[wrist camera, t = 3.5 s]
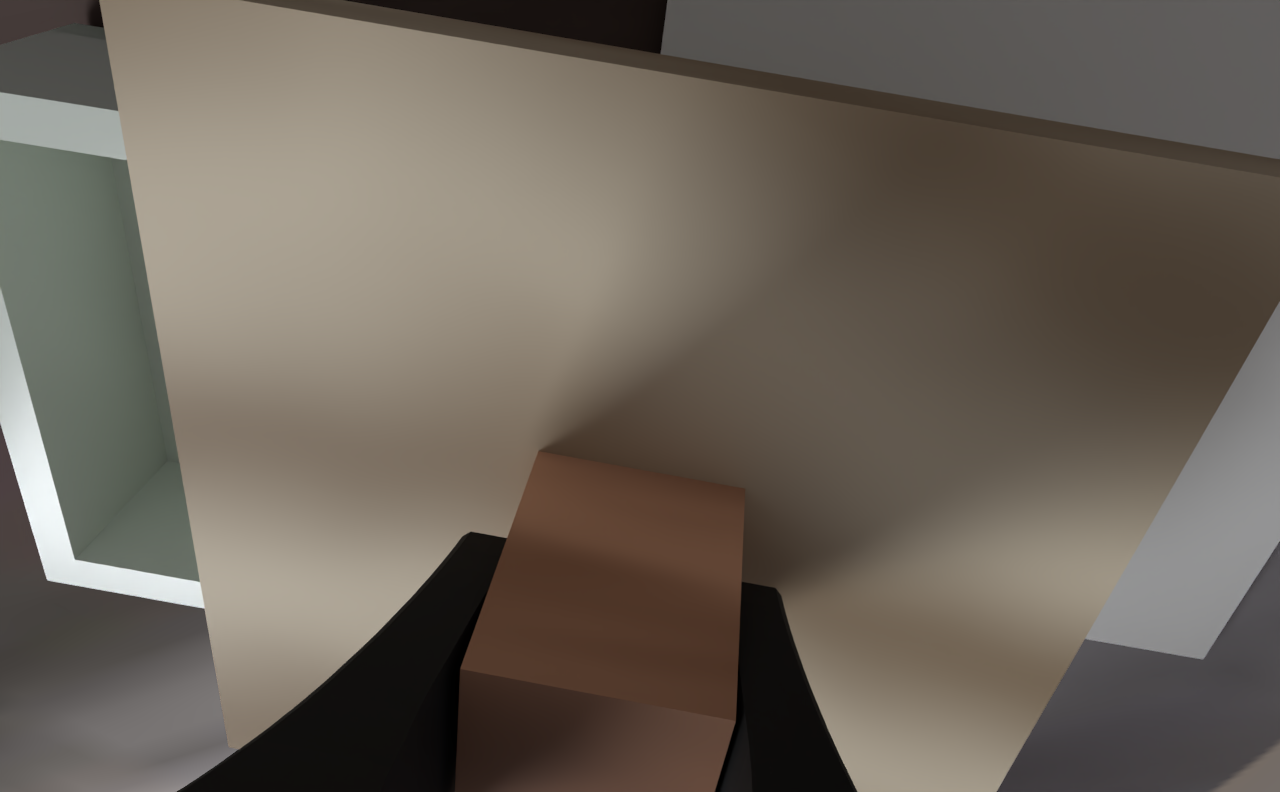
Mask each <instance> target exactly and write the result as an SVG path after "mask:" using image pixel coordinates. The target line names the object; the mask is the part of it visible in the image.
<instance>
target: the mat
mask: <svg viewBox="0 0 1280 792" xmlns="http://www.w3.org/2000/svg"><path fill="white" fill-rule="evenodd" d="M661 54H663V55H669V56H674V57H680V58H686V59H692V60H698V61H704V62H710V63H716V64H722V65H727V66H733V67H739V68H745V69H751V70H757V71H763V72H769V73H774V74H780V75H786V76H792V77H798V78H804V79H810V80H816V81H822V82H827V83H833V84H839V85H845V86H851V87H857V88H863V89H869V90H874V91H880V92H886V93H892V94H898V95H904V96H910V97H916V98H922V99H927V100H933V101H939V102H945V103H951V104H957V105H963V106H969V107H974V108H980V109H986V110H992V111H998V112H1004V113H1010V114H1016V115H1021V116H1027V117H1033V118H1039V119H1045V120H1051V121H1057V122H1063V123H1069V124H1074V125H1080V126H1086V127H1092V128H1098V129H1104V130H1110V131H1116V132H1121V133H1127V134H1133V135H1139V136H1145V137H1151V138H1157V139H1163V140H1169V141H1174V142H1180V143H1186V144H1192V145H1198V146H1204V147H1210V148H1216V149H1221V150H1227V151H1233V152H1239V153H1245V154H1251V155H1257V156H1263V157H1269V158H1274V159H1280V0H668V1H667V8H666V16H665V24H664V32H663V39H662V47H661ZM1279 541H1280V302H1279V303H1278V305H1277V307H1276V309H1275V310H1274V312H1273V314H1272V316H1271V317H1270V319H1269V321H1268V322H1267V324H1266V326H1265V328H1264V329H1263V331H1262V333H1261V335H1260V336H1259V338H1258V340H1257V342H1256V343H1255V345H1254V347H1253V348H1252V350H1251V352H1250V354H1249V355H1248V357H1247V359H1246V361H1245V362H1244V364H1243V366H1242V368H1241V369H1240V371H1239V373H1238V374H1237V376H1236V378H1235V380H1234V381H1233V383H1232V385H1231V387H1230V388H1229V390H1228V392H1227V393H1226V395H1225V397H1224V399H1223V400H1222V402H1221V404H1220V406H1219V407H1218V409H1217V411H1216V413H1215V414H1214V416H1213V418H1212V419H1211V421H1210V423H1209V425H1208V426H1207V428H1206V430H1205V432H1204V433H1203V435H1202V437H1201V438H1200V440H1199V442H1198V444H1197V445H1196V447H1195V449H1194V451H1193V452H1192V454H1191V456H1190V458H1189V459H1188V461H1187V463H1186V464H1185V466H1184V468H1183V470H1182V471H1181V473H1180V475H1179V477H1178V478H1177V480H1176V482H1175V484H1174V485H1173V487H1172V489H1171V490H1170V492H1169V494H1168V496H1167V497H1166V499H1165V501H1164V503H1163V504H1162V506H1161V508H1160V509H1159V511H1158V513H1157V515H1156V516H1155V518H1154V520H1153V522H1152V523H1151V525H1150V527H1149V529H1148V530H1147V532H1146V534H1145V535H1144V537H1143V539H1142V541H1141V542H1140V544H1139V546H1138V548H1137V549H1136V551H1135V553H1134V554H1133V556H1132V558H1131V560H1130V561H1129V563H1128V565H1127V567H1126V568H1125V570H1124V572H1123V574H1122V575H1121V577H1120V579H1119V580H1118V582H1117V584H1116V586H1115V587H1114V589H1113V591H1112V593H1111V594H1110V596H1109V598H1108V600H1107V601H1106V603H1105V605H1104V606H1103V608H1102V610H1101V612H1100V613H1099V615H1098V617H1097V619H1096V620H1095V622H1094V624H1093V625H1092V627H1091V629H1090V631H1089V632H1088V634H1087V636H1086V638H1085V639H1088V640H1094V641H1100V642H1105V643H1111V644H1117V645H1123V646H1128V647H1134V648H1140V649H1145V650H1151V651H1157V652H1163V653H1168V654H1174V655H1180V656H1186V657H1191V658H1197V659H1204V657H1205V656H1206V654H1207V653H1208V651H1209V650H1210V648H1211V646H1212V645H1213V643H1214V642H1215V640H1216V639H1217V637H1218V636H1219V634H1220V633H1221V631H1222V629H1223V628H1224V626H1225V625H1226V623H1227V622H1228V620H1229V619H1230V617H1231V616H1232V614H1233V612H1234V611H1235V609H1236V608H1237V606H1238V605H1239V603H1240V602H1241V600H1242V599H1243V597H1244V595H1245V594H1246V592H1247V591H1248V589H1249V588H1250V586H1251V585H1252V583H1253V582H1254V580H1255V578H1256V577H1257V575H1258V574H1259V572H1260V571H1261V569H1262V568H1263V566H1264V565H1265V563H1266V561H1267V560H1268V558H1269V557H1270V555H1271V554H1272V552H1273V551H1274V549H1275V548H1276V546H1277V544H1278V543H1279Z"/></svg>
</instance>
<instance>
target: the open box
mask: <svg viewBox="0 0 1280 792" xmlns="http://www.w3.org/2000/svg"><path fill="white" fill-rule="evenodd" d="M0 423H1V427H2V430H3V433H4V437H5V440H6V444H7V447H8V450H9V454H10V457H11V460H12V464H13V467H14V470H15V474H16V477H17V480H18V484H19V487H20V490H21V494H22V497H23V501H24V504H25V507H26V511H27V514H28V517H29V521H30V524H31V527H32V531H33V534H34V537H35V541H36V544H37V547H38V551H39V554H40V558H41V561H42V564H43V568H44V571H45V574H46V578H47V580H49V581H54V582H60V583H65V584H71V585H76V586H82V587H88V588H93V589H99V590H104V591H110V592H116V593H121V594H127V595H132V596H138V597H143V598H149V599H155V600H160V601H166V602H171V603H177V604H182V605H188V606H194V607H199V608H205V607H204V602H203V596H202V590H201V584H200V579H199V573H198V567H197V561H196V556H195V550H194V544H193V538H192V532H191V527H190V521H189V515H188V509H187V504H186V498H185V492H184V486H183V481H182V475H181V469H180V463H179V457H178V452H177V446H176V440H175V434H174V429H173V423H172V417H171V411H170V405H169V400H168V394H167V388H166V382H165V377H164V371H163V365H162V359H161V354H160V348H159V342H158V336H157V330H156V325H155V319H154V313H153V307H152V302H151V296H150V290H149V284H148V279H147V273H146V267H145V261H144V255H143V250H142V244H141V238H140V232H139V227H138V221H137V215H136V209H135V203H134V198H133V192H132V186H131V180H130V175H129V169H128V163H127V157H126V152H125V146H124V140H123V134H122V128H121V123H120V117H119V111H118V105H117V100H116V94H115V88H114V82H113V77H112V71H111V65H110V59H109V53H108V48H107V42H106V36H105V30H104V28H102V27H96V26H90V25H83V24H77V23H73V24H70V25H67V26H63V27H60V28H56V29H53V30H50V31H46V32H43V33H39V34H36V35H33V36H29V37H26V38H22V39H19V40H16V41H12V42H9V43H6V44H2V45H0Z"/></svg>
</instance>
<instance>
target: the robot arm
mask: <svg viewBox="0 0 1280 792" xmlns="http://www.w3.org/2000/svg"><path fill="white" fill-rule="evenodd" d="M506 540H507V538H504V537H498V536H493V535H488V534H482V533H477V532H469V533H467V534H465V535H464V536H462V537H461V539H460V540H459V541H458V543H457V544H456V545H455V547H454V548H453V549H452V551H451V552H450V553H449V554H448V555H447V557H446V558H445V559H444V560H443V562H442V563H441V564H440V565H439V566H438V568H437V569H436V570H435V571H434V572H433V573H432V575H431V576H430V577H429V578H428V579H427V580H426V581H425V583H424V584H423V585H422V586H421V587H420V588H419V589H418V590H417V591H416V593H415V594H414V595H413V596H412V597H411V598H410V599H409V600H408V601H407V602H406V603H405V604H404V605H403V606H402V607H401V609H400V610H399V611H398V612H397V613H396V614H395V615H394V616H393V617H392V618H391V619H390V620H389V621H388V622H387V623H386V624H385V625H384V626H383V627H382V628H381V629H380V630H379V631H378V632H377V633H376V634H375V635H374V636H373V637H372V638H371V639H370V640H369V641H368V642H367V643H366V644H365V645H364V646H363V647H362V648H361V649H360V650H359V651H357V652H356V653H355V654H354V655H353V656H352V657H351V658H350V659H349V660H348V661H347V662H346V663H344V664H343V665H342V666H341V667H340V668H339V669H338V670H337V671H336V672H335V673H334V674H333V675H332V676H330V677H329V678H328V679H327V680H326V681H325V682H324V683H323V684H321V685H320V686H319V687H318V688H317V689H316V690H314V691H313V692H312V693H311V694H310V695H309V696H307V697H306V698H305V699H304V700H303V701H301V702H300V703H299V704H298V705H296V706H295V707H294V708H293V709H292V710H290V711H289V712H288V713H286V714H285V715H284V716H283V717H281V718H280V719H279V720H278V721H276V722H275V723H274V724H273V725H271V726H270V727H269V728H267V729H266V730H265V731H263V732H262V733H261V734H259V735H258V736H257V737H255V738H254V739H253V740H251V741H250V742H248V743H247V744H246V745H244V746H243V747H242V748H240V749H239V750H237V751H236V752H235V753H233V754H232V755H230V756H229V757H228V758H226V759H225V760H224V761H222V762H221V763H219V764H218V765H217V766H215V767H214V768H212V769H211V770H209V771H208V772H206V773H205V774H203V775H202V776H200V777H199V778H197V779H196V780H194V781H193V782H191V783H190V784H188V785H187V786H185V787H184V788H182V789H180V790H179V791H177V792H455V778H456V754H457V731H458V707H459V684H460V668H461V665H462V662H463V660H464V657H465V654H466V651H467V648H468V646H469V643H470V640H471V637H472V634H473V632H474V629H475V626H476V623H477V621H478V618H479V615H480V612H481V609H482V607H483V604H484V601H485V598H486V595H487V593H488V590H489V587H490V584H491V582H492V579H493V576H494V573H495V570H496V568H497V565H498V562H499V559H500V557H501V554H502V551H503V548H504V545H505V543H506ZM715 792H858V791H857V789H856V788H855V786H854V784H853V781H852V779H851V777H850V775H849V773H848V771H847V769H846V767H845V765H844V763H843V761H842V759H841V757H840V755H839V753H838V750H837V748H836V746H835V744H834V741H833V739H832V737H831V735H830V733H829V730H828V728H827V726H826V723H825V721H824V718H823V716H822V713H821V711H820V709H819V706H818V704H817V701H816V699H815V697H814V694H813V692H812V689H811V687H810V684H809V681H808V679H807V676H806V674H805V671H804V668H803V665H802V662H801V659H800V657H799V654H798V651H797V648H796V645H795V642H794V639H793V636H792V633H791V629H790V626H789V623H788V619H787V616H786V612H785V608H784V604H783V600H782V596H781V594H780V593H779V592H778V590H777V589H776V588H774V587H769V586H763V585H758V584H752V583H747V582H741V606H740V631H739V656H738V681H737V705H736V722H735V726H734V729H733V732H732V736H731V739H730V742H729V746H728V749H727V752H726V756H725V759H724V762H723V766H722V769H721V772H720V776H719V779H718V782H717V786H716V789H715Z"/></svg>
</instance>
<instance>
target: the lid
mask: <svg viewBox="0 0 1280 792" xmlns="http://www.w3.org/2000/svg"><path fill="white" fill-rule="evenodd" d="M99 1H100V7H101V13H102V19H103V25H104V30H105V36H106V42H107V48H108V53H109V59H110V65H111V71H112V77H113V82H114V88H115V94H116V100H117V105H118V111H119V117H120V123H121V128H122V134H123V140H124V146H125V152H126V157H127V163H128V169H129V175H130V180H131V186H132V192H133V198H134V203H135V209H136V215H137V221H138V227H139V232H140V238H141V244H142V250H143V255H144V261H145V267H146V273H147V279H148V284H149V290H150V296H151V302H152V307H153V313H154V319H155V325H156V330H157V336H158V342H159V348H160V354H161V359H162V365H163V371H164V377H165V382H166V388H167V394H168V400H169V405H170V411H171V417H172V423H173V429H174V434H175V440H176V446H177V452H178V457H179V463H180V469H181V475H182V481H183V486H184V492H185V498H186V504H187V509H188V515H189V521H190V527H191V532H192V538H193V544H194V550H195V556H196V561H197V567H198V573H199V579H200V584H201V590H202V596H203V602H204V607H205V613H206V619H207V625H208V631H209V636H210V642H211V648H212V654H213V659H214V665H215V671H216V677H217V683H218V688H219V694H220V700H221V706H222V711H223V717H224V723H225V729H226V734H227V740H228V746H229V747H230V748H236V749H240V748H242V747H243V746H244V745H246V744H247V743H248V742H250V741H251V740H253V739H254V738H255V737H257V736H258V735H259V734H261V733H262V732H263V731H265V730H266V729H267V728H269V727H270V726H271V725H273V724H274V723H275V722H276V721H278V720H279V719H280V718H281V717H283V716H284V715H285V714H286V713H288V712H289V711H290V710H292V709H293V708H294V707H295V706H296V705H298V704H299V703H300V702H301V701H303V700H304V699H305V698H306V697H307V696H309V695H310V694H311V693H312V692H313V691H314V690H316V689H317V688H318V687H319V686H320V685H321V684H323V683H324V682H325V681H326V680H327V679H328V678H329V677H330V676H332V675H333V674H334V673H335V672H336V671H337V670H338V669H339V668H340V667H341V666H342V665H343V664H344V663H346V662H347V661H348V660H349V659H350V658H351V657H352V656H353V655H354V654H355V653H356V652H357V651H359V650H360V649H361V648H362V647H363V646H364V645H365V644H366V643H367V642H368V641H369V640H370V639H371V638H372V637H373V636H374V635H375V634H376V633H377V632H378V631H379V630H380V629H381V628H382V627H383V626H384V625H385V624H386V623H387V622H388V621H389V620H390V619H391V618H392V617H393V616H394V615H395V614H396V613H397V612H398V611H399V610H400V609H401V607H402V606H403V605H404V604H405V603H406V602H407V601H408V600H409V599H410V598H411V597H412V596H413V595H414V594H415V593H416V591H417V590H418V589H419V588H420V587H421V586H422V585H423V584H424V583H425V581H426V580H427V579H428V578H429V577H430V576H431V575H432V573H433V572H434V571H435V570H436V569H437V568H438V566H439V565H440V564H441V563H442V562H443V560H444V559H445V558H446V557H447V555H448V554H449V553H450V552H451V551H452V549H453V548H454V547H455V545H456V544H457V543H458V541H459V540H460V539H461V537H462V536H464V535H465V534H467V533H469V532H477V533H482V534H488V535H493V536H498V537H504V538H507V540H506V543H505V545H504V548H503V551H502V554H501V557H500V559H499V562H498V565H497V568H496V570H495V573H494V576H493V579H492V582H491V584H490V587H489V590H488V593H487V595H486V598H485V601H484V604H483V607H482V609H481V612H480V615H479V618H478V621H477V623H476V626H475V629H474V632H473V634H472V637H471V640H470V643H469V646H468V648H467V651H466V654H465V657H464V660H463V662H462V665H461V668H460V684H459V707H458V731H457V754H456V778H455V792H715V789H716V786H717V782H718V779H719V776H720V772H721V769H722V766H723V762H724V759H725V756H726V752H727V749H728V746H729V742H730V739H731V736H732V732H733V729H734V726H735V722H736V705H737V681H738V656H739V631H740V606H741V582H747V583H752V584H758V585H763V586H769V587H774V588H776V589H777V590H778V592H779V593H780V594H781V596H782V600H783V604H784V608H785V612H786V616H787V619H788V623H789V626H790V629H791V633H792V636H793V639H794V642H795V645H796V648H797V651H798V654H799V657H800V659H801V662H802V665H803V668H804V671H805V674H806V676H807V679H808V681H809V684H810V687H811V689H812V692H813V694H814V697H815V699H816V701H817V704H818V706H819V709H820V711H821V713H822V716H823V718H824V721H825V723H826V726H827V728H828V730H829V733H830V735H831V737H832V739H833V741H834V744H835V746H836V748H837V750H838V753H839V755H840V757H841V759H842V761H843V763H844V765H845V767H846V769H847V771H848V773H849V775H850V777H851V779H852V781H853V784H854V786H855V788H856V789H857V791H858V792H997V790H998V788H999V786H1000V785H1001V783H1002V781H1003V780H1004V778H1005V776H1006V774H1007V773H1008V771H1009V769H1010V767H1011V766H1012V764H1013V762H1014V761H1015V759H1016V757H1017V755H1018V754H1019V752H1020V750H1021V748H1022V747H1023V745H1024V743H1025V741H1026V740H1027V738H1028V736H1029V735H1030V733H1031V731H1032V729H1033V728H1034V726H1035V724H1036V722H1037V721H1038V719H1039V717H1040V716H1041V714H1042V712H1043V710H1044V709H1045V707H1046V705H1047V703H1048V702H1049V700H1050V698H1051V696H1052V695H1053V693H1054V691H1055V690H1056V688H1057V686H1058V684H1059V683H1060V681H1061V679H1062V677H1063V676H1064V674H1065V672H1066V670H1067V669H1068V667H1069V665H1070V664H1071V662H1072V660H1073V658H1074V657H1075V655H1076V653H1077V651H1078V650H1079V648H1080V646H1081V645H1082V643H1083V641H1084V639H1085V638H1086V636H1087V634H1088V632H1089V631H1090V629H1091V627H1092V625H1093V624H1094V622H1095V620H1096V619H1097V617H1098V615H1099V613H1100V612H1101V610H1102V608H1103V606H1104V605H1105V603H1106V601H1107V600H1108V598H1109V596H1110V594H1111V593H1112V591H1113V589H1114V587H1115V586H1116V584H1117V582H1118V580H1119V579H1120V577H1121V575H1122V574H1123V572H1124V570H1125V568H1126V567H1127V565H1128V563H1129V561H1130V560H1131V558H1132V556H1133V554H1134V553H1135V551H1136V549H1137V548H1138V546H1139V544H1140V542H1141V541H1142V539H1143V537H1144V535H1145V534H1146V532H1147V530H1148V529H1149V527H1150V525H1151V523H1152V522H1153V520H1154V518H1155V516H1156V515H1157V513H1158V511H1159V509H1160V508H1161V506H1162V504H1163V503H1164V501H1165V499H1166V497H1167V496H1168V494H1169V492H1170V490H1171V489H1172V487H1173V485H1174V484H1175V482H1176V480H1177V478H1178V477H1179V475H1180V473H1181V471H1182V470H1183V468H1184V466H1185V464H1186V463H1187V461H1188V459H1189V458H1190V456H1191V454H1192V452H1193V451H1194V449H1195V447H1196V445H1197V444H1198V442H1199V440H1200V438H1201V437H1202V435H1203V433H1204V432H1205V430H1206V428H1207V426H1208V425H1209V423H1210V421H1211V419H1212V418H1213V416H1214V414H1215V413H1216V411H1217V409H1218V407H1219V406H1220V404H1221V402H1222V400H1223V399H1224V397H1225V395H1226V393H1227V392H1228V390H1229V388H1230V387H1231V385H1232V383H1233V381H1234V380H1235V378H1236V376H1237V374H1238V373H1239V371H1240V369H1241V368H1242V366H1243V364H1244V362H1245V361H1246V359H1247V357H1248V355H1249V354H1250V352H1251V350H1252V348H1253V347H1254V345H1255V343H1256V342H1257V340H1258V338H1259V336H1260V335H1261V333H1262V331H1263V329H1264V328H1265V326H1266V324H1267V322H1268V321H1269V319H1270V317H1271V316H1272V314H1273V312H1274V310H1275V309H1276V307H1277V305H1278V303H1279V302H1280V159H1274V158H1269V157H1263V156H1257V155H1251V154H1245V153H1239V152H1233V151H1227V150H1221V149H1216V148H1210V147H1204V146H1198V145H1192V144H1186V143H1180V142H1174V141H1169V140H1163V139H1157V138H1151V137H1145V136H1139V135H1133V134H1127V133H1121V132H1116V131H1110V130H1104V129H1098V128H1092V127H1086V126H1080V125H1074V124H1069V123H1063V122H1057V121H1051V120H1045V119H1039V118H1033V117H1027V116H1021V115H1016V114H1010V113H1004V112H998V111H992V110H986V109H980V108H974V107H969V106H963V105H957V104H951V103H945V102H939V101H933V100H927V99H922V98H916V97H910V96H904V95H898V94H892V93H886V92H880V91H874V90H869V89H863V88H857V87H851V86H845V85H839V84H833V83H827V82H822V81H816V80H810V79H804V78H798V77H792V76H786V75H780V74H774V73H769V72H763V71H757V70H751V69H745V68H739V67H733V66H727V65H722V64H716V63H710V62H704V61H698V60H692V59H686V58H680V57H674V56H669V55H663V54H657V53H651V52H645V51H639V50H633V49H627V48H622V47H616V46H610V45H604V44H598V43H592V42H586V41H580V40H574V39H569V38H563V37H557V36H551V35H545V34H539V33H533V32H527V31H522V30H516V29H510V28H504V27H498V26H492V25H486V24H480V23H475V22H469V21H463V20H457V19H451V18H445V17H439V16H433V15H427V14H422V13H416V12H410V11H404V10H398V9H392V8H386V7H380V6H375V5H369V4H363V3H357V2H351V1H345V0H99Z"/></svg>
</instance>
